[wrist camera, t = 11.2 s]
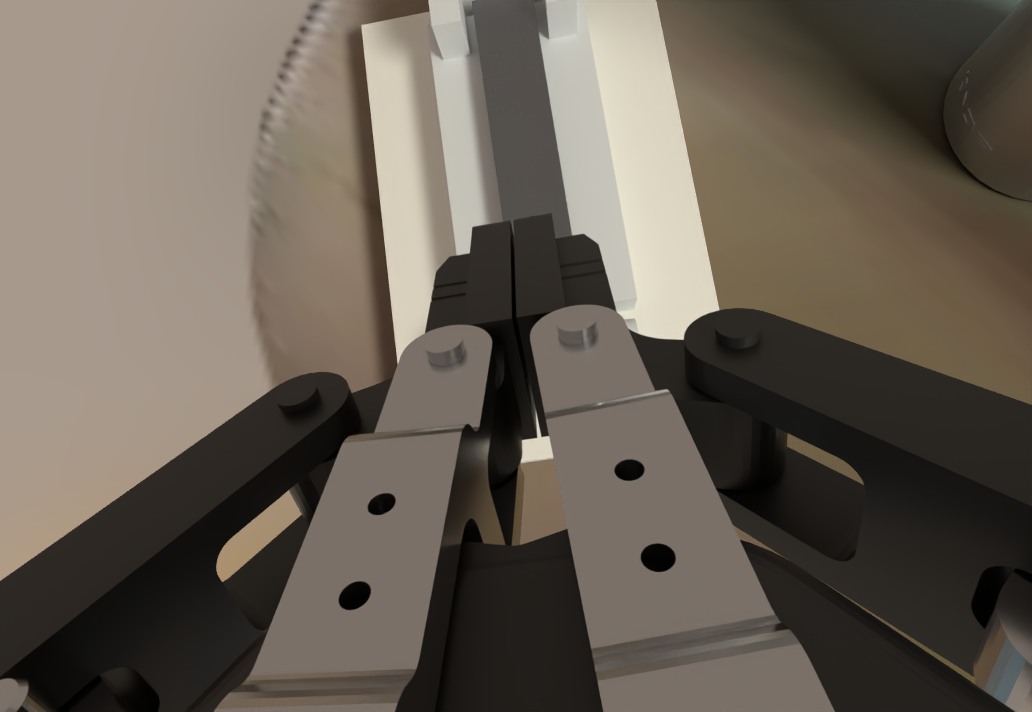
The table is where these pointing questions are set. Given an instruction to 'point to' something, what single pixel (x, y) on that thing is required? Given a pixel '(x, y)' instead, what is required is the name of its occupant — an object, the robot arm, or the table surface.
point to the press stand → (582, 152)
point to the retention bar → (520, 112)
